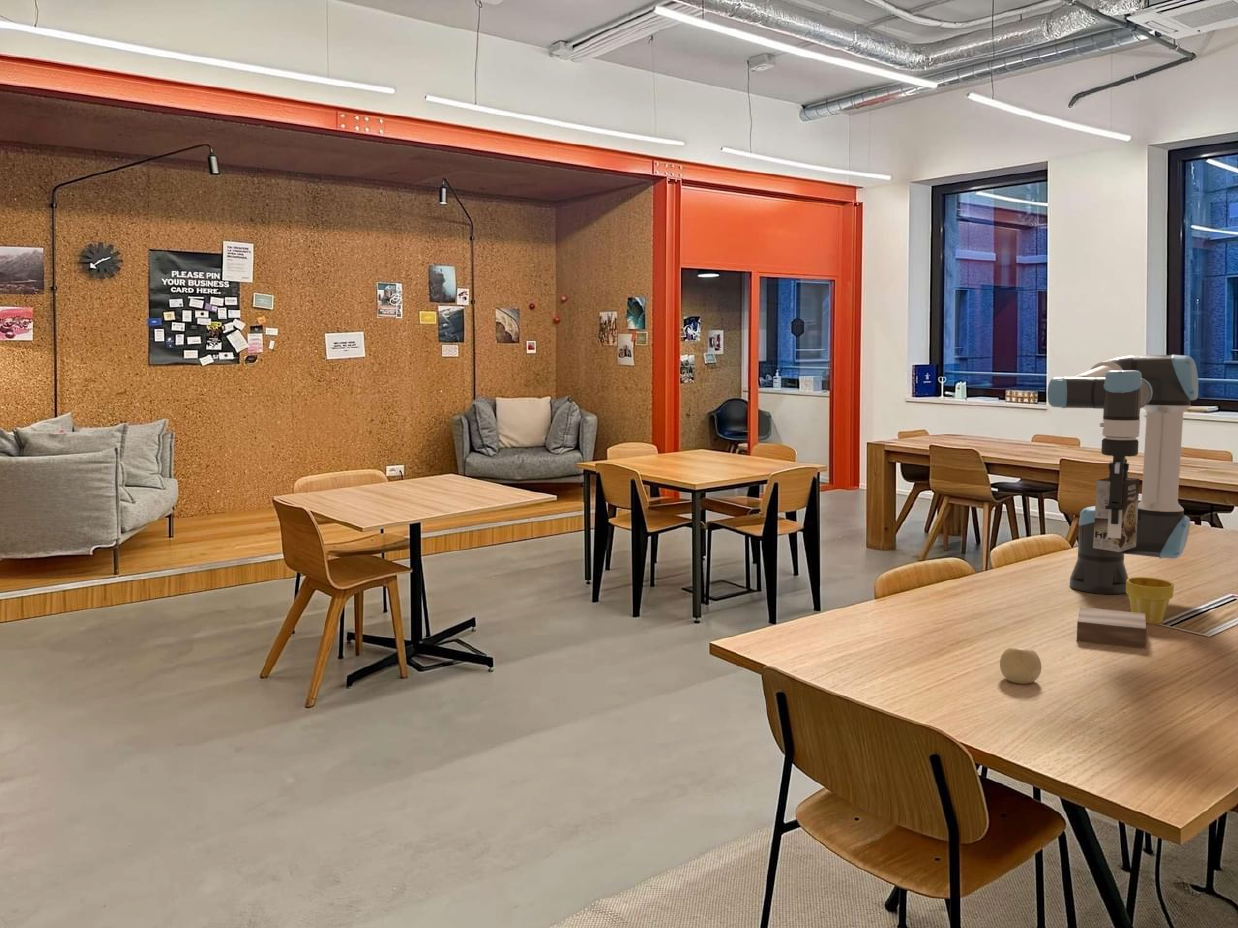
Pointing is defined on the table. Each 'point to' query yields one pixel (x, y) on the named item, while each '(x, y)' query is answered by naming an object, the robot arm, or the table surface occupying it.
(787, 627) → the table surface
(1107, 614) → the walnut block
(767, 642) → the table surface
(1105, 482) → the coffee box
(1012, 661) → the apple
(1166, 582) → the plant pot
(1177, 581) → the table surface
